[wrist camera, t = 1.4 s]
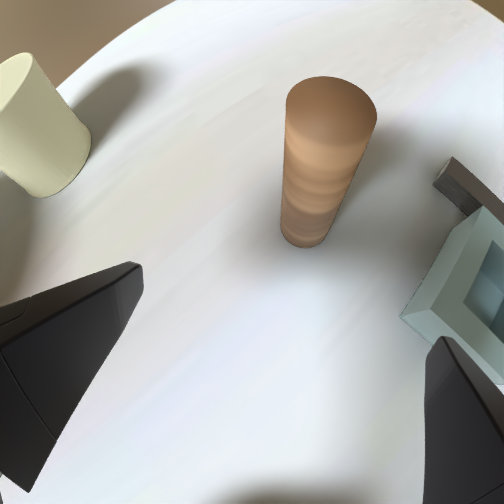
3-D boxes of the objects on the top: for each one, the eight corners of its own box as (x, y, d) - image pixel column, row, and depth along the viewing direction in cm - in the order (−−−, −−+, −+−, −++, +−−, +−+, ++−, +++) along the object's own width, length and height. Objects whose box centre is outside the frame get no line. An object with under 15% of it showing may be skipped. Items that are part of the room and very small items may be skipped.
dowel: (330, 247, 23) (386, 144, 11) (281, 249, 23) (290, 143, 11) (325, 202, 24) (365, 78, 12) (279, 203, 24) (282, 76, 12)
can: (33, 135, 29) (-24, 74, 17) (98, 112, 29) (45, 33, 17) (16, 206, 26) (-60, 151, 15) (85, 187, 26) (6, 111, 15)
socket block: (472, 381, 19) (509, 385, 14) (399, 316, 21) (429, 308, 16) (516, 293, 21) (551, 281, 16) (452, 228, 23) (483, 205, 18)
